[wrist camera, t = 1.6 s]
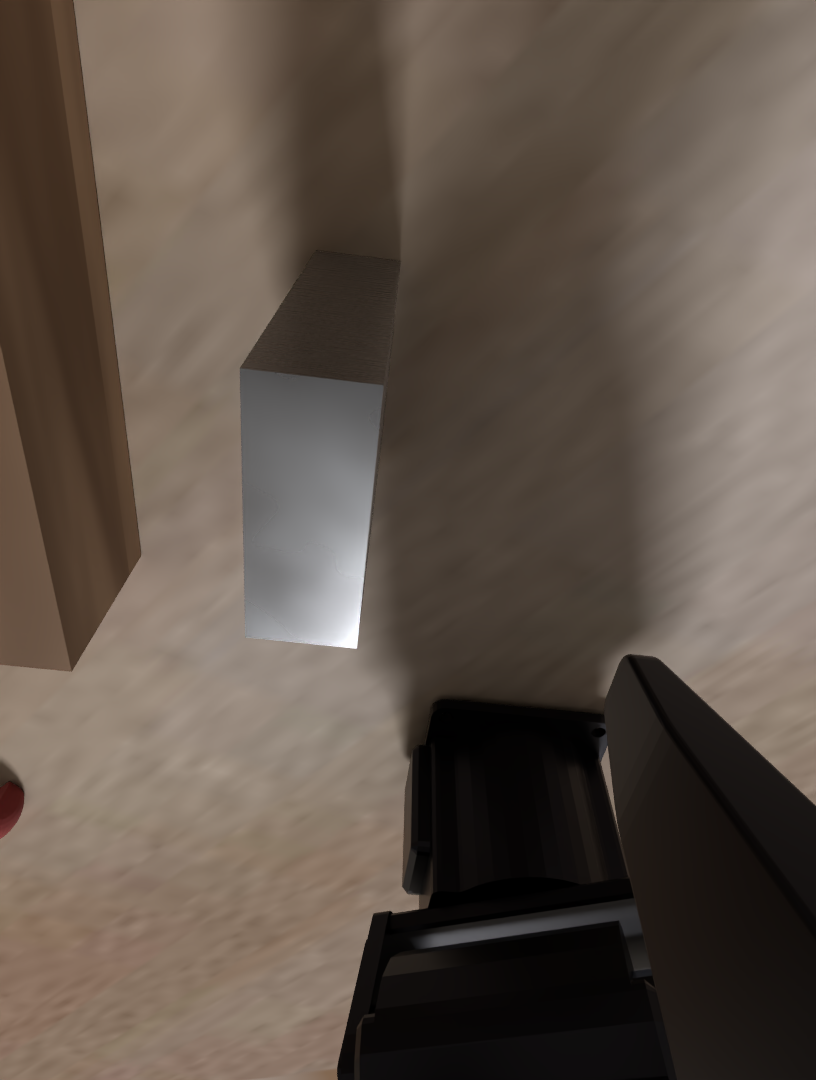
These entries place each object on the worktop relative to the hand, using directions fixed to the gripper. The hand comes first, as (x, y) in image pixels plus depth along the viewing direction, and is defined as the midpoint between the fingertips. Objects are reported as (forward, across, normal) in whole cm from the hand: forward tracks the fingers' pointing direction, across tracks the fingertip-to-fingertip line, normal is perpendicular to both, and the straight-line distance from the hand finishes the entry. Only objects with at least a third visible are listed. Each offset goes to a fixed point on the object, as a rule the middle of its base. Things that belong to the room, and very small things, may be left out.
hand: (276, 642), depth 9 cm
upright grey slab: (+11, 0, 0) cm, 11 cm away
